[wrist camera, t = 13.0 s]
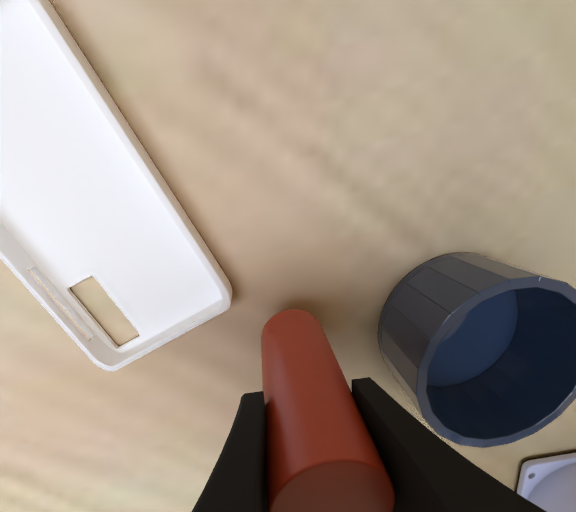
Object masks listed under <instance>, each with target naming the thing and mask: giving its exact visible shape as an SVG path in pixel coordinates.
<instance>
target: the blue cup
mask: <svg viewBox="0 0 576 512" xmlns="http://www.w3.org/2000/svg"><path fill="white" fill-rule="evenodd" d="M378 343H379V348H380V352H381V355H382V357H383V359H384V361H385V363H386V365H387V367H388V369H389V370H390V371H391V373H392V374H393V376H394V377H395V379H396V380H397V381H398V383H399V384H400V386H401V387H402V388H403V390H404V391H405V393H406V394H407V396H408V397H409V398H410V400H411V401H412V403H413V404H414V405H415V407H416V408H417V410H418V411H419V413H420V414H421V415H422V417H423V418H424V419H425V420H426V422H427V423H428V424H429V425H430V426H431V427H432V428H433V430H434V431H435V432H436V433H437V434H438V435H440V436H442V437H444V438H446V439H448V440H450V441H452V442H454V443H456V444H459V445H464V446H472V447H481V448H483V447H484V448H486V447H492V446H498V445H504V444H509V443H512V442H515V441H517V440H520V439H522V438H524V437H527V436H529V435H532V434H534V433H535V432H537V431H539V430H540V429H542V428H543V427H545V426H546V425H547V424H549V423H550V422H552V421H553V420H555V419H556V418H557V417H558V416H560V415H561V414H562V413H563V412H564V411H565V409H566V408H567V407H568V406H569V405H570V404H571V403H572V402H573V401H574V400H575V399H576V289H574V288H573V287H572V286H570V285H569V284H568V283H566V282H563V281H560V280H557V279H554V278H551V277H548V276H545V275H542V274H539V273H536V272H533V271H530V270H527V269H524V268H521V267H518V266H515V265H512V264H509V263H506V262H503V261H500V260H497V259H493V258H489V257H486V256H482V255H479V254H474V253H453V254H447V255H443V256H440V257H436V258H434V259H432V260H429V261H427V262H425V263H424V264H422V265H420V266H418V267H417V268H415V269H414V270H413V271H411V272H410V273H409V274H408V275H407V276H406V277H404V278H403V279H402V280H401V281H400V283H399V284H398V285H397V286H396V287H395V288H394V290H393V291H392V293H391V294H390V296H389V297H388V299H387V301H386V303H385V305H384V308H383V310H382V313H381V316H380V321H379V326H378Z"/></svg>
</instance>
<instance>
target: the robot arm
mask: <svg viewBox="0 0 576 512" xmlns="http://www.w3.org/2000/svg"><path fill="white" fill-rule="evenodd" d="M352 395H353V397H354V399H355V401H356V404H357V406H358V408H359V410H360V412H361V415H362V417H363V419H364V421H365V424H366V426H367V428H368V430H369V432H370V435H371V437H372V439H373V441H374V444H375V446H376V448H377V450H378V452H379V455H380V457H381V459H382V461H383V463H384V466H385V468H386V470H387V472H388V475H389V477H390V479H391V481H392V484H393V486H394V491H395V504H394V508H393V512H576V453H570V454H564V455H558V456H552V457H546V458H540V459H534V460H528V461H526V462H524V463H523V465H522V468H521V473H520V478H519V483H518V488H517V493H516V492H514V491H513V490H511V489H510V488H508V487H507V486H505V485H503V484H502V483H501V482H499V481H498V480H496V479H495V478H493V477H492V476H490V475H489V474H487V473H486V472H484V471H483V470H482V469H480V468H479V467H477V466H476V465H474V464H473V463H471V462H470V461H469V460H467V459H466V458H465V457H463V456H462V455H460V454H459V453H458V452H457V451H455V450H454V449H453V448H451V447H450V446H449V445H447V444H446V443H445V442H444V441H442V440H441V439H440V438H438V437H437V436H436V435H435V434H433V433H432V432H431V431H430V430H429V429H427V428H426V427H425V426H424V425H423V424H421V423H420V422H419V421H418V420H417V419H416V418H414V417H413V416H412V415H411V414H410V413H409V412H407V411H406V410H405V409H404V408H403V407H402V406H401V405H399V404H398V403H397V402H396V401H395V400H394V399H393V398H392V397H391V396H389V395H388V394H387V393H386V392H385V391H384V390H383V389H382V388H381V387H380V386H379V385H377V384H376V383H375V382H374V381H373V380H372V379H371V378H370V377H368V378H361V379H353V380H352ZM265 459H266V420H265V401H264V391H261V392H254V393H246V394H244V395H243V396H242V397H241V401H240V405H239V408H238V411H237V414H236V417H235V420H234V423H233V425H232V428H231V431H230V433H229V436H228V438H227V440H226V443H225V445H224V447H223V450H222V452H221V454H220V457H219V459H218V461H217V463H216V465H215V467H214V469H213V471H212V473H211V475H210V477H209V480H208V482H207V484H206V486H205V488H204V490H203V492H202V494H201V495H200V497H199V499H198V501H197V503H196V505H195V507H194V509H193V510H192V512H267V492H266V462H265Z"/></svg>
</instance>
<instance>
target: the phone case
mask: <svg viewBox="0 0 576 512" xmlns="http://www.w3.org/2000/svg"><path fill="white" fill-rule="evenodd" d="M0 259H1V260H2V261H3V262H4V263H5V264H6V265H7V267H8V268H9V269H10V270H11V271H12V272H13V273H14V274H15V276H16V277H17V278H18V279H19V280H20V281H21V282H22V283H23V284H24V286H25V287H26V288H27V289H28V290H29V291H30V292H31V293H32V295H33V296H34V297H35V298H36V299H37V300H38V301H39V302H40V304H41V305H42V306H43V307H44V308H45V309H46V310H47V311H48V313H49V314H50V315H51V316H52V317H53V318H54V319H55V320H56V321H57V323H58V324H59V325H60V326H61V327H62V328H63V329H64V330H65V332H66V333H67V334H68V335H69V336H70V337H71V338H72V339H73V341H74V342H75V343H76V344H77V345H78V346H79V347H80V348H81V350H82V351H83V352H84V353H85V354H86V355H87V356H88V357H89V358H90V360H91V361H92V362H93V363H95V364H96V365H97V366H98V367H100V368H101V369H103V370H106V371H109V372H114V371H116V370H118V369H120V368H122V367H123V366H125V365H127V364H129V363H131V362H133V361H134V360H136V359H138V358H140V357H142V356H144V355H145V354H147V353H149V352H151V351H153V350H155V349H157V348H158V347H160V346H162V345H164V344H166V343H168V342H169V341H171V340H173V339H175V338H177V337H179V336H180V335H182V334H184V333H186V332H188V331H190V330H191V329H193V328H195V327H197V326H199V325H201V324H203V323H204V322H206V321H208V320H210V319H212V318H214V317H215V316H217V315H219V314H221V313H223V312H225V311H226V310H228V309H229V308H230V305H231V300H232V294H233V292H232V287H231V284H230V282H229V280H228V278H227V277H226V275H225V274H224V272H223V270H222V269H221V267H220V266H219V264H218V263H217V261H216V260H215V258H214V256H213V255H212V253H211V252H210V250H209V249H208V247H207V246H206V244H205V242H204V241H203V239H202V238H201V236H200V235H199V233H198V231H197V230H196V228H195V227H194V225H193V224H192V222H191V221H190V219H189V217H188V216H187V214H186V213H185V211H184V210H183V208H182V207H181V205H180V203H179V202H178V200H177V199H176V197H175V196H174V194H173V193H172V191H171V189H170V188H169V186H168V185H167V183H166V182H165V180H164V179H163V177H162V175H161V174H160V172H159V171H158V169H157V168H156V166H155V165H154V163H153V161H152V160H151V158H150V157H149V155H148V154H147V152H146V151H145V149H144V147H143V146H142V144H141V143H140V141H139V140H138V138H137V137H136V135H135V133H134V132H133V130H132V129H131V127H130V126H129V124H128V123H127V121H126V119H125V118H124V116H123V115H122V113H121V112H120V110H119V109H118V107H117V105H116V104H115V102H114V101H113V99H112V98H111V96H110V95H109V93H108V91H107V90H106V88H105V87H104V85H103V84H102V82H101V81H100V79H99V77H98V76H97V74H96V73H95V71H94V70H93V68H92V67H91V65H90V63H89V62H88V60H87V59H86V57H85V56H84V54H83V53H82V51H81V49H80V48H79V46H78V45H77V43H76V42H75V40H74V39H73V37H72V35H71V34H70V32H69V31H68V29H67V28H66V26H65V25H64V23H63V21H62V20H61V18H60V17H59V15H58V14H57V12H56V11H55V9H54V7H53V6H52V4H51V3H50V2H49V0H0ZM28 270H31V271H32V272H33V273H34V274H35V276H36V277H37V278H38V279H39V280H40V281H41V282H42V284H43V285H44V286H45V287H46V288H47V289H48V290H49V292H50V293H51V294H52V295H53V296H54V297H55V299H56V300H57V301H58V302H59V303H60V304H61V305H62V307H63V308H64V309H65V310H66V311H67V312H68V314H69V315H70V316H71V317H72V318H73V319H74V320H75V322H76V323H77V324H78V325H79V326H80V327H81V328H82V330H83V331H84V332H85V333H86V334H87V335H88V337H89V338H90V340H88V339H87V338H86V337H85V335H84V334H83V333H82V332H81V331H80V330H79V329H78V327H77V326H76V325H75V324H74V323H73V322H72V321H71V319H70V318H69V317H68V316H67V315H66V314H65V313H64V311H63V310H62V309H61V308H60V307H59V306H58V305H57V303H56V302H55V301H54V300H53V299H52V298H51V297H50V295H49V294H48V293H47V292H46V291H45V290H44V288H43V287H42V286H41V285H40V284H39V283H38V282H37V280H36V279H35V278H34V277H33V276H32V275H31V274H30V272H29V271H28ZM90 276H93V277H94V278H95V279H96V280H97V281H98V283H99V284H100V285H101V286H102V288H103V289H104V290H105V291H106V293H107V294H108V295H109V296H110V298H111V299H112V300H113V301H114V303H115V304H116V305H117V306H118V308H119V309H120V310H121V311H122V313H123V314H124V315H125V316H126V318H127V319H128V320H129V321H130V323H131V324H132V325H133V326H134V328H135V329H136V330H137V332H138V333H139V336H137V337H136V338H134V339H132V340H130V341H128V342H127V343H125V344H123V345H121V346H117V345H116V344H115V343H114V341H113V340H112V339H111V338H110V337H109V335H108V334H107V333H106V332H105V331H104V329H103V328H102V327H101V326H100V325H99V323H98V322H97V321H96V320H95V319H94V318H93V316H92V315H91V314H90V313H89V312H88V310H87V309H86V308H85V307H84V306H83V304H82V303H81V302H80V301H79V300H78V299H77V297H76V296H75V295H74V294H73V293H72V291H71V290H70V287H72V286H73V285H75V284H77V283H79V282H81V281H82V280H84V279H86V278H88V277H90Z"/></svg>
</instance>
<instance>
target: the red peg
mask: <svg viewBox="0 0 576 512" xmlns="http://www.w3.org/2000/svg"><path fill="white" fill-rule="evenodd" d="M261 351H262V379H263V391H264V401H265V420H266V459H265V462H266V492H267V512H393V508H394V504H395V491H394V486H393V484H392V481H391V479H390V477H389V475H388V472H387V470H386V468H385V466H384V463H383V461H382V459H381V457H380V455H379V452H378V450H377V448H376V446H375V444H374V441H373V439H372V437H371V435H370V432H369V430H368V428H367V426H366V424H365V421H364V419H363V417H362V415H361V412H360V410H359V408H358V406H357V404H356V401H355V399H354V397H353V395H352V393H351V390H350V388H349V386H348V384H347V381H346V379H345V377H344V375H343V373H342V370H341V368H340V366H339V364H338V362H337V359H336V357H335V355H334V353H333V350H332V348H331V346H330V344H329V342H328V339H327V337H326V335H325V333H324V331H323V328H322V326H321V324H320V322H319V321H318V320H317V318H316V317H315V316H313V315H312V314H310V313H308V312H306V311H303V310H298V309H290V310H285V311H282V312H280V313H278V314H276V315H274V316H273V317H272V318H271V319H270V320H269V321H268V322H267V323H266V325H265V326H264V328H263V331H262V335H261Z"/></svg>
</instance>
